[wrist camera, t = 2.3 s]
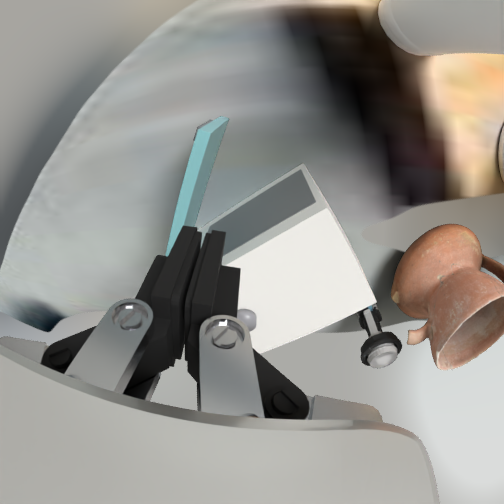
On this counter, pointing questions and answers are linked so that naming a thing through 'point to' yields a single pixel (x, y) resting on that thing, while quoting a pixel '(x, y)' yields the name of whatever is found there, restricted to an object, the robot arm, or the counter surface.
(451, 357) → the ceramic jug
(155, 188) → the counter surface
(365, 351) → the push button
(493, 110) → the counter surface
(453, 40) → the bottle
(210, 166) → the side door
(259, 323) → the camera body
